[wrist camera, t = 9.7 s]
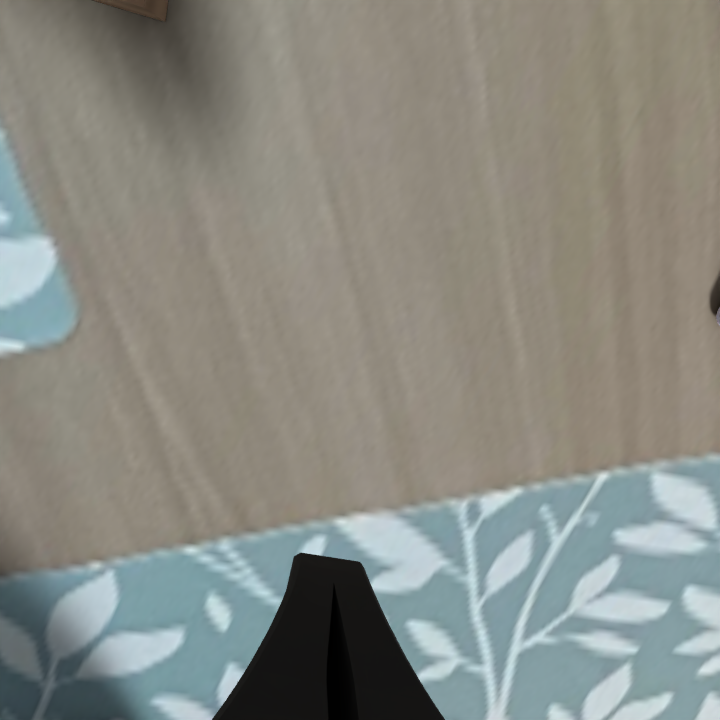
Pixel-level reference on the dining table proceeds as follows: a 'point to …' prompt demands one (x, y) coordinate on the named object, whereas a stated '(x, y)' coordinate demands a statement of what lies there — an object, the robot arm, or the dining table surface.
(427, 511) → the dining table surface
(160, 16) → the bay
